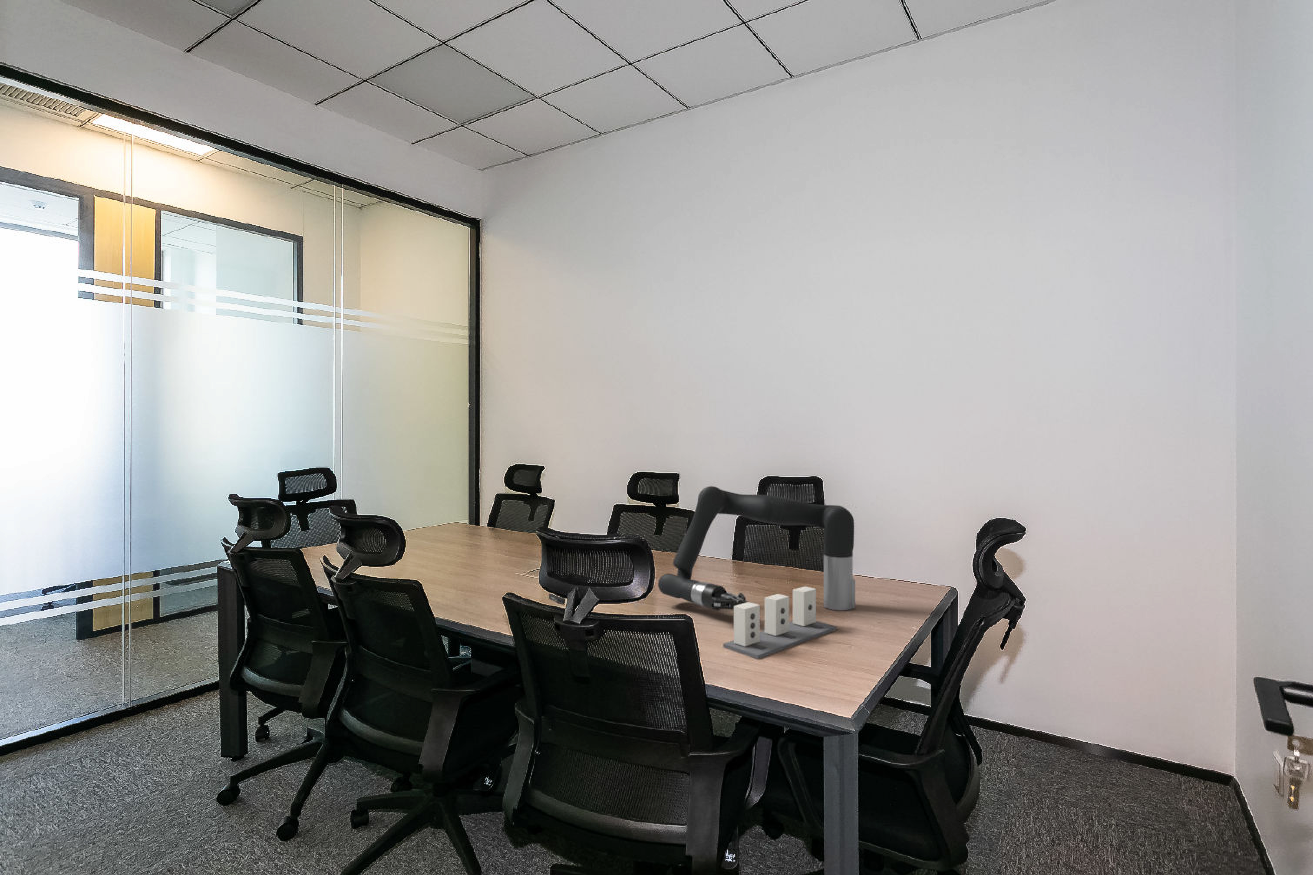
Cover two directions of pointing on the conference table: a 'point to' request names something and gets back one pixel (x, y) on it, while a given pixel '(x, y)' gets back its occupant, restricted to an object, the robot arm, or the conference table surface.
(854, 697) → the conference table surface
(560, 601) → the media streaming box
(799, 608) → the key one dot
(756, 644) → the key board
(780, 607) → the key two dots
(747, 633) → the key three dots
